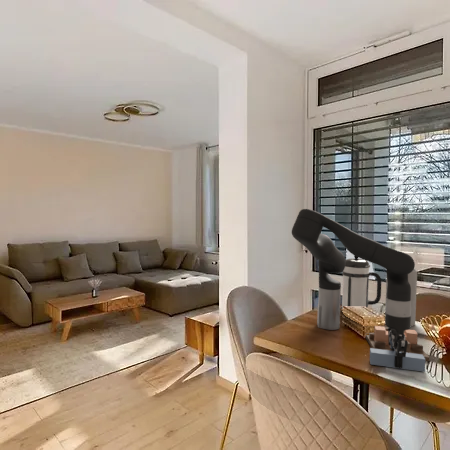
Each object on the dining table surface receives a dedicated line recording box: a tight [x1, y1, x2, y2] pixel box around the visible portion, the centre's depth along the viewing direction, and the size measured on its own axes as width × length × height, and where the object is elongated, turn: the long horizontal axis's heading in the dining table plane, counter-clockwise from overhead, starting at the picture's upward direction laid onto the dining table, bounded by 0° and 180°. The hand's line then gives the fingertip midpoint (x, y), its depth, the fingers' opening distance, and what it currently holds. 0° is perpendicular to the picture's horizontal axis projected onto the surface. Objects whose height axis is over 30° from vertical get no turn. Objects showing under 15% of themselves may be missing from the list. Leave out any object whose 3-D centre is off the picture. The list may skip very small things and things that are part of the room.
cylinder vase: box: [384, 268, 418, 327], centre depth 164 cm, size 12×12×25 cm
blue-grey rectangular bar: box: [369, 347, 426, 372], centre depth 117 cm, size 16×4×4 cm, turn 73°
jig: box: [365, 325, 430, 362], centre depth 133 cm, size 17×20×5 cm
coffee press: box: [340, 255, 382, 311], centre depth 178 cm, size 17×16×30 cm
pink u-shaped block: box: [373, 325, 418, 348], centre depth 133 cm, size 14×4×6 cm, turn 72°
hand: (396, 363), depth 117 cm, fingers closed on blue-grey rectangular bar, 4 cm apart
